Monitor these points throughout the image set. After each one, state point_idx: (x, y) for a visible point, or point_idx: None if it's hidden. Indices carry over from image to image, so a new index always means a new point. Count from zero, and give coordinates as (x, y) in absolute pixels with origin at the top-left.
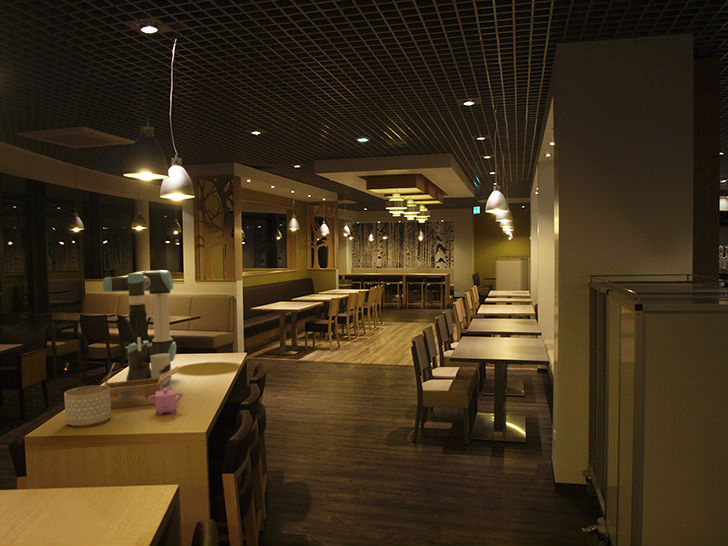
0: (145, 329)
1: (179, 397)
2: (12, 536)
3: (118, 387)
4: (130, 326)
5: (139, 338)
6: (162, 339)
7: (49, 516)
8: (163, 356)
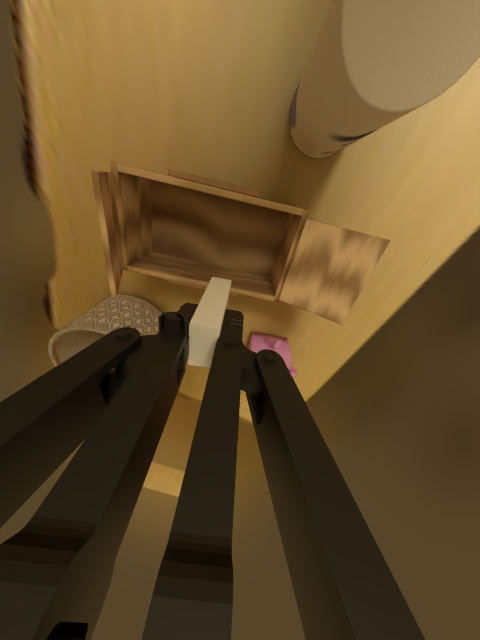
0: (264, 455)
1: (289, 371)
2: (143, 486)
3: (166, 274)
4: (18, 506)
5: (206, 364)
6: None
7: (156, 481)
8: (406, 109)
